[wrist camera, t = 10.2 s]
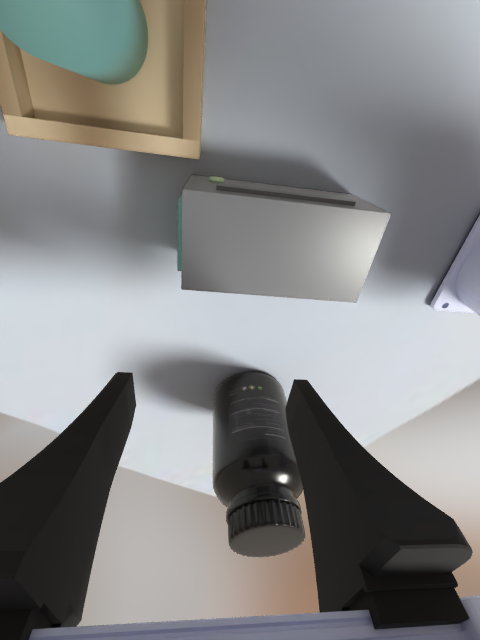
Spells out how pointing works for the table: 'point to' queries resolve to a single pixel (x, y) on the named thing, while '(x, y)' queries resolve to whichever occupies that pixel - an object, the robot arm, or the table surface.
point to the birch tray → (116, 91)
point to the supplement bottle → (256, 466)
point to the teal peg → (80, 35)
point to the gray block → (275, 239)
